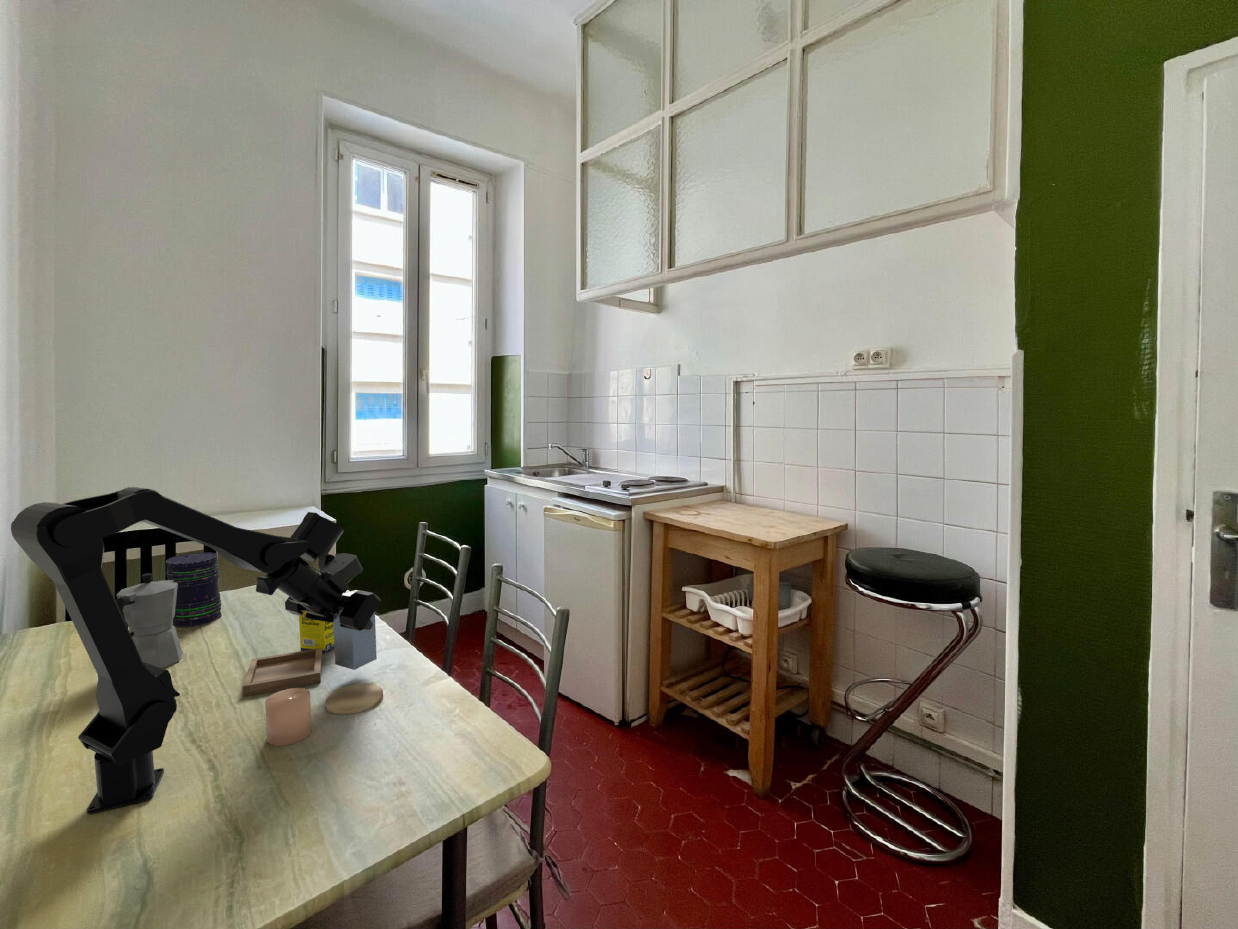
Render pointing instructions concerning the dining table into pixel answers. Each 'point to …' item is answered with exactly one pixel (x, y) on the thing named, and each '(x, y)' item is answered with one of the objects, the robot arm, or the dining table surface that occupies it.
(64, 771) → the dining table surface
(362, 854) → the dining table surface
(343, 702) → the cork coaster
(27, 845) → the dining table surface
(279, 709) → the pink rounded cylinder
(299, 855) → the dining table surface
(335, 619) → the tea tin
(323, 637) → the supplement box
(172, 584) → the coffeepot
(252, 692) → the walnut tray
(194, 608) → the storage jar
